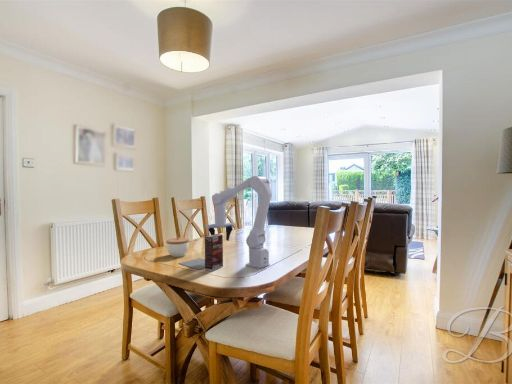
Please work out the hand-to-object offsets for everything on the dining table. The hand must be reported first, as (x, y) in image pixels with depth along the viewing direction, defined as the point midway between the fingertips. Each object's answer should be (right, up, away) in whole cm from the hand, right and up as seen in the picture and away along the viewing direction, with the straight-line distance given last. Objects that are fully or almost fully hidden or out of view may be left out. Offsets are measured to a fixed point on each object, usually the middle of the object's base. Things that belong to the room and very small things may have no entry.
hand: (220, 241), depth 144 cm
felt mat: (-10, -10, -7) cm, 16 cm away
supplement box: (-1, -11, -15) cm, 18 cm away
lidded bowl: (-26, -11, +11) cm, 30 cm away
